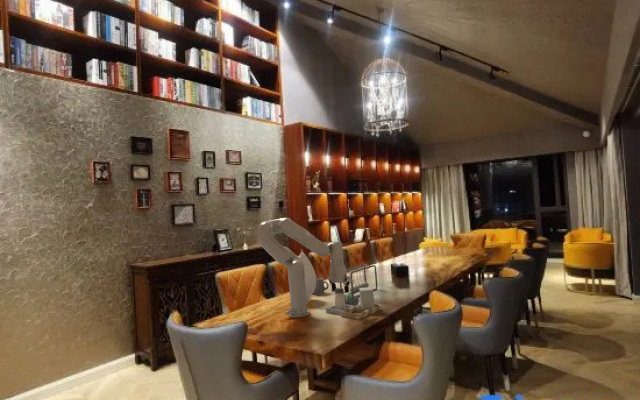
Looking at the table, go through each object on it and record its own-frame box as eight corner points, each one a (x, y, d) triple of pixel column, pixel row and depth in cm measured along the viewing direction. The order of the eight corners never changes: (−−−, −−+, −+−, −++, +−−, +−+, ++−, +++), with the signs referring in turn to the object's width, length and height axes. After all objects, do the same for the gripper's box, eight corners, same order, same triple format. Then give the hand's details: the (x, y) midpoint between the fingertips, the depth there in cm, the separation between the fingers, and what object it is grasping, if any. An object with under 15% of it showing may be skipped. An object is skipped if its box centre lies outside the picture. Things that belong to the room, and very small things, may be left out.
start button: (349, 305, 244) (349, 295, 244) (344, 304, 247) (344, 295, 247) (353, 304, 247) (353, 294, 247) (348, 303, 250) (348, 293, 250)
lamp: (289, 303, 264) (286, 249, 264) (298, 297, 279) (295, 246, 279) (312, 303, 259) (308, 249, 259) (320, 297, 274) (316, 246, 274)
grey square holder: (350, 308, 242) (349, 299, 242) (340, 306, 247) (339, 298, 247) (358, 305, 247) (358, 296, 247) (348, 303, 253) (347, 295, 253)
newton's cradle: (365, 288, 293) (363, 263, 293) (378, 289, 286) (376, 264, 286) (340, 297, 270) (338, 271, 270) (353, 299, 263) (351, 272, 263)
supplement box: (372, 308, 238) (371, 286, 238) (375, 311, 231) (373, 289, 231) (360, 309, 238) (358, 287, 238) (362, 312, 230) (360, 290, 230)
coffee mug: (308, 294, 286) (307, 280, 286) (313, 291, 295) (312, 277, 295) (325, 295, 280) (324, 280, 280) (330, 291, 290) (329, 277, 290)
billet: (341, 313, 232) (339, 290, 232) (333, 311, 236) (331, 289, 236) (347, 310, 237) (346, 288, 237) (339, 309, 241) (338, 287, 241)
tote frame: (341, 315, 228) (341, 310, 228) (326, 312, 236) (325, 308, 236) (355, 310, 237) (354, 305, 237) (339, 307, 245) (339, 303, 245)
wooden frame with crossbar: (357, 319, 218) (357, 314, 218) (340, 316, 226) (340, 311, 226) (382, 309, 234) (381, 304, 234) (365, 306, 243) (365, 302, 243)
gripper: (322, 263, 240) (325, 292, 240) (344, 264, 228) (347, 294, 228) (330, 261, 245) (333, 289, 245) (352, 261, 233) (356, 291, 233)
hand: (340, 291), depth 236 cm, fingers open, 9 cm apart
